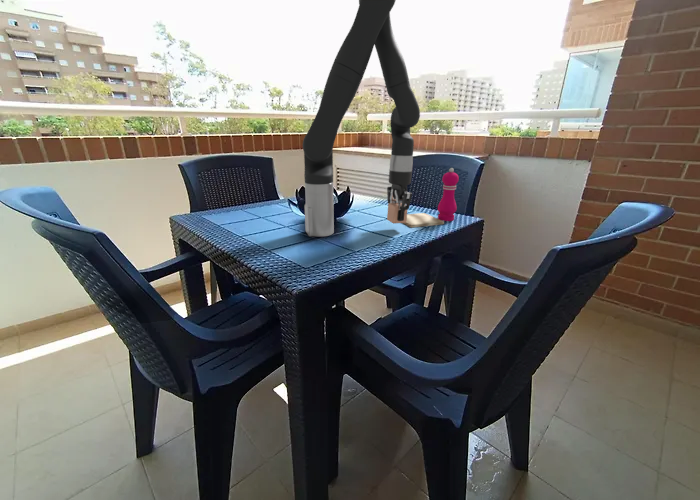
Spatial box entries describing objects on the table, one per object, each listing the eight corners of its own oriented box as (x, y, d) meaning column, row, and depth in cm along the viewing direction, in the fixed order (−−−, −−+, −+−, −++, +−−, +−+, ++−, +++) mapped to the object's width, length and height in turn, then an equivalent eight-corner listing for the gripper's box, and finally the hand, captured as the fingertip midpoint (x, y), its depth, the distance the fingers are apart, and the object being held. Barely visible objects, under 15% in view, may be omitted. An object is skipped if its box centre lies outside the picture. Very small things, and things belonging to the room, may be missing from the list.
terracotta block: (393, 223, 109) (394, 206, 107) (387, 219, 114) (388, 203, 112) (406, 222, 111) (407, 205, 109) (399, 218, 115) (400, 202, 113)
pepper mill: (457, 221, 124) (464, 169, 117) (438, 221, 124) (444, 169, 117) (452, 216, 131) (458, 166, 123) (434, 216, 131) (439, 166, 124)
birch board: (411, 227, 116) (411, 224, 116) (394, 217, 128) (394, 215, 128) (443, 224, 120) (444, 221, 120) (424, 215, 133) (424, 212, 132)
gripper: (421, 171, 101) (416, 223, 107) (400, 166, 114) (396, 213, 120) (400, 172, 99) (396, 225, 105) (381, 166, 111) (378, 214, 117)
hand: (396, 218), depth 112 cm, fingers closed on terracotta block, 5 cm apart
